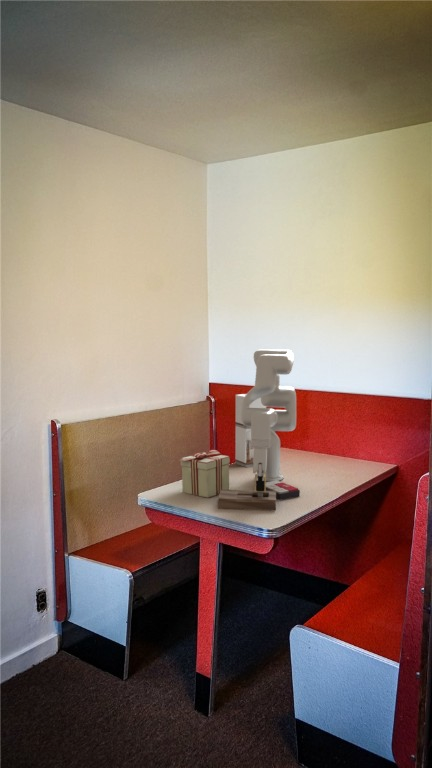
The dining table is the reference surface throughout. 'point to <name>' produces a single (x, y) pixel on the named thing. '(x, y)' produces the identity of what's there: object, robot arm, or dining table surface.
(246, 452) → the white slotted tower
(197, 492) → the gift box
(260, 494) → the peg
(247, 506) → the keyhole board
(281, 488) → the calculator
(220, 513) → the dining table surface
